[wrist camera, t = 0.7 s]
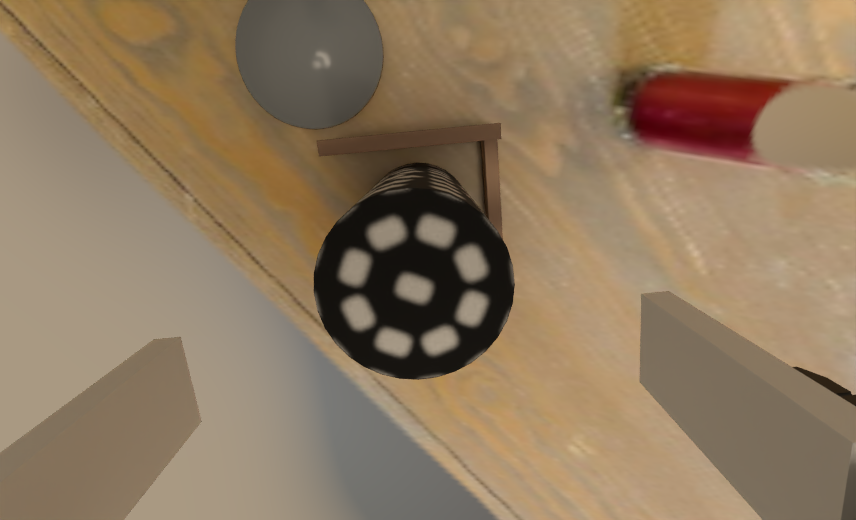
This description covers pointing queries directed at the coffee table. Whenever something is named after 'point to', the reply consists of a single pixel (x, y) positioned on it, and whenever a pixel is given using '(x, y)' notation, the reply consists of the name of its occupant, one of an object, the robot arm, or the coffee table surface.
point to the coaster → (309, 58)
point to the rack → (436, 137)
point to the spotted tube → (414, 277)
